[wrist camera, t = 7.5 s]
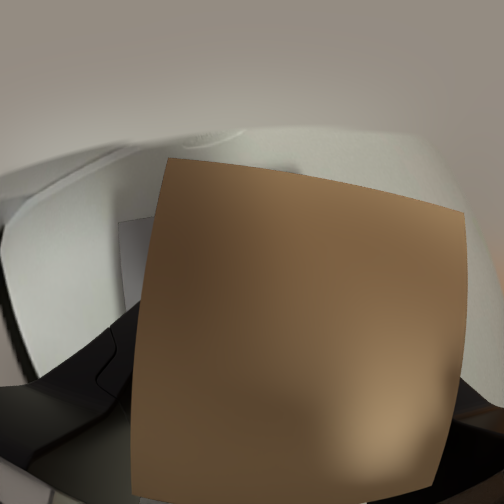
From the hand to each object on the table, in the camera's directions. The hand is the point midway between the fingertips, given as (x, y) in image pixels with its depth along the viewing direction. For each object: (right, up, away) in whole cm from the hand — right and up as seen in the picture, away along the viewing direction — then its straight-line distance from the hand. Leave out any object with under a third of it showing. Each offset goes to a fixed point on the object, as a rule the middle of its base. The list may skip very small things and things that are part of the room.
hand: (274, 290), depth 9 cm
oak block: (-1, -3, +6) cm, 7 cm away
